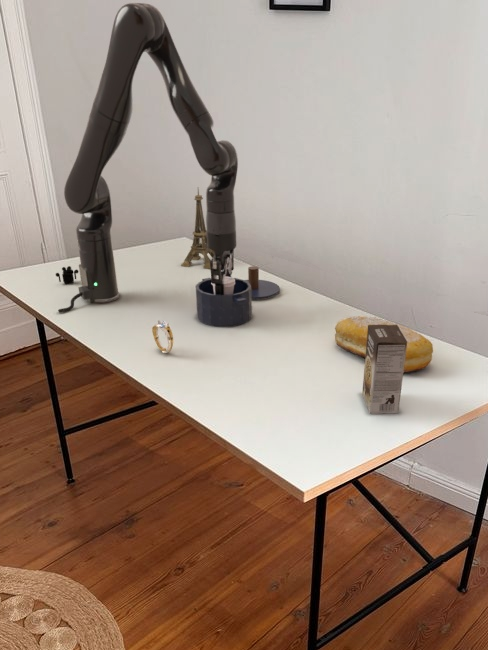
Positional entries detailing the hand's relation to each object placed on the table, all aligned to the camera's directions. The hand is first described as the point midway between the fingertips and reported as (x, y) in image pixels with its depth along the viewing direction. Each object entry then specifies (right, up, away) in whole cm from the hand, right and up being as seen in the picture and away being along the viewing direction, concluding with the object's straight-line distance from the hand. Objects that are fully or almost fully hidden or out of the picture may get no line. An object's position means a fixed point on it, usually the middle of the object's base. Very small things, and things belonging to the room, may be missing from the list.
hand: (223, 293), depth 183 cm
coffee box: (+36, -34, -36) cm, 62 cm away
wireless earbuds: (-49, +9, +25) cm, 55 cm away
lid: (+7, +6, +20) cm, 22 cm away
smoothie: (0, -5, +4) cm, 6 cm away
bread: (+40, -20, -16) cm, 47 cm away
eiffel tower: (-11, +22, +43) cm, 49 cm away
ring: (-13, -19, -16) cm, 28 cm away
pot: (0, -5, +4) cm, 7 cm away
